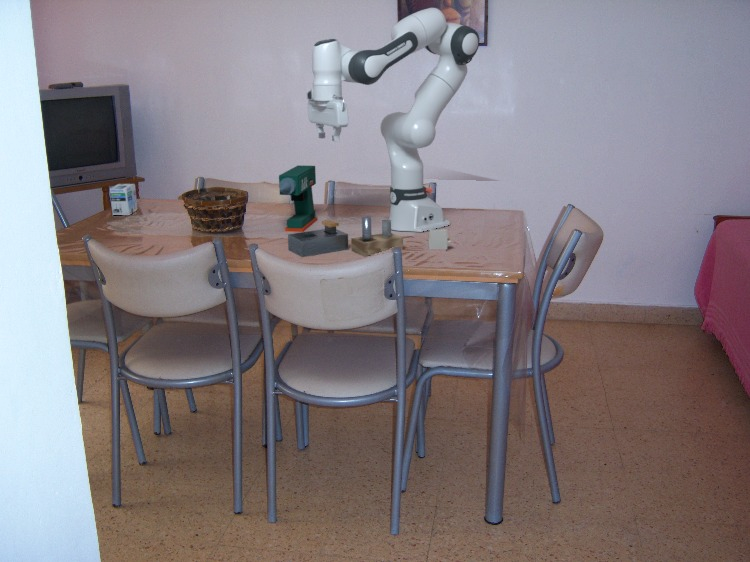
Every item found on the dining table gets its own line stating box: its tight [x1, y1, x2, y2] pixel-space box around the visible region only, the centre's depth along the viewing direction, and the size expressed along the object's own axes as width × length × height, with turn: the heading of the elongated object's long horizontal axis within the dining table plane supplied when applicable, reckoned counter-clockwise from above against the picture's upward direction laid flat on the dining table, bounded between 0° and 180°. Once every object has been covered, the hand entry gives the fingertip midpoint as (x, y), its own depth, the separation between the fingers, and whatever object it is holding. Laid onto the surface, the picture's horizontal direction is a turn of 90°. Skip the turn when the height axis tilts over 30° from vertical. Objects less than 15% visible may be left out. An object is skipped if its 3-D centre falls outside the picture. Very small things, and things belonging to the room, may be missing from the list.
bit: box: [361, 216, 373, 242], centre depth 242 cm, size 3×3×11 cm
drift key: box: [321, 219, 340, 235], centre depth 248 cm, size 3×5×8 cm, turn 31°
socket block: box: [287, 228, 349, 258], centre depth 246 cm, size 16×10×5 cm, turn 121°
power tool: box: [278, 165, 319, 233], centre depth 270 cm, size 32×7×20 cm, turn 168°
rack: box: [350, 219, 404, 257], centre depth 244 cm, size 14×8×9 cm, turn 121°
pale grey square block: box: [427, 228, 452, 250], centre depth 244 cm, size 3×7×7 cm, turn 94°
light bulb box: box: [109, 183, 138, 216], centre depth 300 cm, size 11×7×11 cm, turn 179°
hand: (328, 139), depth 246 cm, fingers open, 8 cm apart
